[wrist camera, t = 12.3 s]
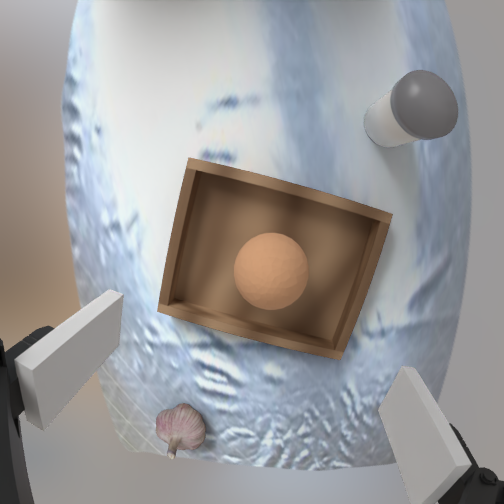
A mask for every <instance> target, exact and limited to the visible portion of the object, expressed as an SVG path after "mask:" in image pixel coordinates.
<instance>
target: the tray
mask: <svg viewBox="0 0 504 504" xmlns="http://www.w3.org/2000/svg"><path fill="white" fill-rule="evenodd" d="M392 215H393V214H391V213H388V212H385V211H382V210H379V209H376V208H373V207H370V206H367V205H364V204H361V203H358V202H354V201H351V200H348V199H345V198H342V197H338V196H335V195H332V194H328V193H325V192H322V191H318V190H315V189H312V188H308V187H305V186H301V185H297V184H294V183H290V182H287V181H283V180H279V179H276V178H272V177H268V176H264V175H260V174H257V173H253V172H249V171H245V170H241V169H237V168H232V167H228V166H224V165H220V164H216V163H211V162H207V161H202V160H198V159H193V158H188V162H187V166H186V170H185V174H184V179H183V183H182V187H181V191H180V196H179V200H178V205H177V209H176V214H175V218H174V223H173V228H172V233H171V238H170V243H169V248H168V253H167V258H166V263H165V269H164V274H163V280H162V286H161V291H160V297H159V303H158V310H157V312H160V313H163V314H166V315H169V316H173V317H176V318H179V319H182V320H185V321H189V322H192V323H195V324H199V325H202V326H205V327H209V328H212V329H216V330H219V331H223V332H226V333H230V334H234V335H237V336H241V337H245V338H248V339H252V340H256V341H260V342H264V343H268V344H272V345H276V346H280V347H284V348H288V349H292V350H296V351H301V352H305V353H309V354H314V355H318V356H323V357H328V358H332V359H337V360H341V357H342V355H343V353H344V350H345V348H346V346H347V343H348V341H349V338H350V336H351V334H352V331H353V329H354V326H355V324H356V321H357V318H358V316H359V313H360V311H361V308H362V305H363V303H364V300H365V297H366V295H367V292H368V289H369V286H370V284H371V281H372V278H373V275H374V272H375V269H376V266H377V263H378V260H379V257H380V254H381V251H382V248H383V245H384V242H385V238H386V235H387V232H388V229H389V225H390V222H391V218H392ZM264 233H278V234H283V235H285V236H287V237H289V238H292V239H293V240H294V241H295V242H296V243H297V244H298V245H299V246H300V247H301V248H302V250H303V251H304V253H305V255H306V258H307V261H308V266H309V277H308V281H307V285H306V287H305V289H304V291H303V293H302V294H301V296H300V297H299V298H298V299H297V300H296V301H295V302H293V303H292V304H291V305H289V306H287V307H284V308H282V309H277V310H265V309H261V308H258V307H255V306H253V305H251V304H250V303H249V302H248V301H246V300H245V299H244V298H243V297H242V295H241V294H240V292H239V290H238V289H237V287H236V283H235V279H234V264H235V260H236V257H237V255H238V253H239V251H240V249H241V248H242V247H243V246H244V245H245V243H246V242H248V241H249V240H250V239H252V238H254V237H256V236H258V235H260V234H264Z"/></svg>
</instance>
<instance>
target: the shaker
mask: <svg viewBox="0 0 504 504" xmlns="http://www.w3.org/2000/svg"><path fill="white" fill-rule="evenodd" d="M457 118H458V106H457V101H456V98H455V96H454V94H453V92H452V90H451V88H450V87H449V86H448V84H447V83H446V82H445V81H444V80H443V79H442V78H440V77H439V76H437V75H436V74H434V73H432V72H429V71H424V70H416V71H412V72H410V73H408V74H406V75H405V76H404V77H403V78H401V79H400V80H399V81H398V82H397V83H396V84H395V85H394V87H393V89H392V90H390V91H389V92H388V93H387V94H385V95H384V96H383V97H382V98H380V99H379V100H378V101H377V102H375V103H374V104H373V105H372V106H370V107H369V108H368V110H367V111H366V113H365V116H364V127H365V130H366V132H367V134H368V136H369V137H370V139H371V140H372V141H373V142H375V143H376V144H378V145H380V146H382V147H387V148H391V147H396V146H399V145H403V144H406V143H410V142H414V141H417V140H421V139H422V140H431V139H435V138H439V137H443V136H445V135H447V134H448V133H450V132H451V131H452V129H453V128H454V127H455V125H456V122H457Z"/></svg>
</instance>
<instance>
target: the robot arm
mask: <svg viewBox="0 0 504 504" xmlns="http://www.w3.org/2000/svg"><path fill="white" fill-rule="evenodd" d="M123 297H124V294H121V293H118V292H115V291H113V290H110V289H109V290H108V291H106V292H105V293H103V294H102V295H100V296H99V297H98V298H96V299H95V300H93V301H92V302H91V303H89V304H88V305H86V306H85V307H84V308H82V309H81V310H80V311H78V312H77V313H76V314H74V315H73V316H71V317H70V318H69V319H67V320H66V321H64V322H63V323H62V324H60V325H59V326H58V327H56V328H55V329H54V328H52V327H50V326H46V327H42V328H39V329H37V330H35V331H34V332H32V333H31V334H30V335H29V336H27V337H25V338H24V339H23V340H22V341H20V342H18V343H17V344H16V345H14V346H13V347H12V348H10V349H9V350H7V351H6V352H4V346H3V341H2V340H1V339H0V504H34V500H33V496H32V492H31V488H30V483H29V478H28V473H27V468H26V462H25V456H24V450H23V443H22V435H21V427H20V420H19V415H20V414H21V413H22V411H25V415H26V418H27V421H28V422H30V423H31V424H33V425H35V426H36V427H38V428H40V429H41V430H43V431H44V430H45V429H46V428H47V427H48V426H49V425H50V423H51V422H52V421H53V420H54V419H55V418H56V416H57V415H58V414H59V413H60V412H61V410H62V409H63V408H64V407H65V406H66V405H67V403H68V402H69V401H70V400H71V399H72V398H73V397H74V395H75V394H76V393H77V392H78V391H79V390H80V389H81V387H82V386H83V385H84V384H85V383H86V382H87V381H88V380H89V378H90V377H91V376H92V375H93V374H94V373H95V372H96V370H97V369H98V368H99V367H100V366H101V365H102V364H103V363H104V362H105V360H106V359H107V358H108V357H109V356H110V355H111V354H112V353H113V351H114V350H115V349H116V348H117V347H118V346H119V340H120V328H121V316H122V306H123ZM378 411H379V414H380V417H381V420H382V422H383V425H384V428H385V431H386V433H387V436H388V439H389V442H390V445H391V447H392V450H393V453H394V456H395V459H396V462H397V465H398V468H399V471H400V474H401V477H402V480H403V483H404V486H405V489H406V492H407V495H408V498H409V501H410V504H435V503H436V502H438V503H439V504H504V481H500V480H498V478H497V476H496V474H495V473H494V472H493V471H491V470H490V469H487V468H479V467H478V465H477V463H476V461H475V459H474V458H473V456H472V454H471V452H470V451H469V449H468V447H466V444H465V442H464V440H462V439H463V438H462V437H461V435H460V433H459V432H458V430H457V429H456V428H455V427H453V426H452V424H450V423H448V421H447V420H446V418H445V416H444V414H443V413H442V411H441V409H440V408H439V406H438V404H437V403H436V401H435V400H434V398H433V396H432V395H431V393H430V391H429V390H428V388H427V387H426V385H425V383H424V382H423V380H422V379H421V377H420V375H419V374H418V372H417V371H416V369H415V368H413V367H407V366H401V368H400V370H399V372H398V374H397V376H396V378H395V380H394V382H393V384H392V385H391V387H390V389H389V391H388V393H387V394H386V396H385V398H384V400H383V402H382V403H381V405H380V407H379V408H378Z"/></svg>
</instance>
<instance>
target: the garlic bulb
mask: <svg viewBox="0 0 504 504" xmlns="http://www.w3.org/2000/svg"><path fill="white" fill-rule="evenodd" d="M156 425H157V426H156V433H157V436H158V437H159V438H160V439H162V440H163V441H165V442H166V443H168V444H169V448H168V451H167V456H168V457H169V458H170V459H174V458H175V456H176V451H177V449H180V450H186V449H191V450H194V449H196V448H198V447H199V446H200V445H201V443H203V441H204V439H205V431H206V426H205V424H204V422H203V420H202V416H201V414H200V413H199V412H198V411H196V410H194V409H193V408H192V407H191V406H190V405H188V404H185V403H182V404H179V405H177V406H176V407H175V408H174V409H167V410H164V411H162V412H160V413H159V415H158V416H157V419H156Z"/></svg>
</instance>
